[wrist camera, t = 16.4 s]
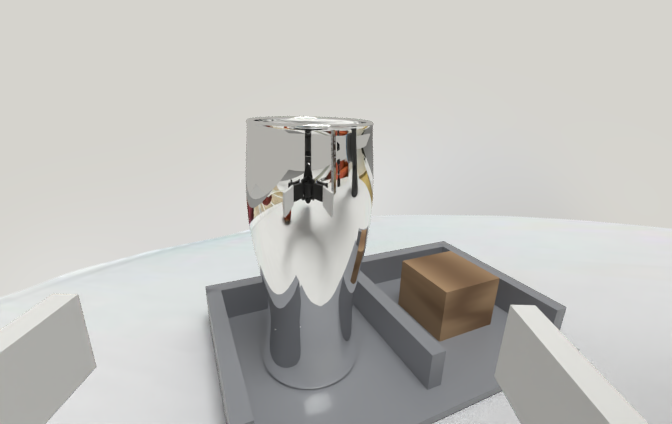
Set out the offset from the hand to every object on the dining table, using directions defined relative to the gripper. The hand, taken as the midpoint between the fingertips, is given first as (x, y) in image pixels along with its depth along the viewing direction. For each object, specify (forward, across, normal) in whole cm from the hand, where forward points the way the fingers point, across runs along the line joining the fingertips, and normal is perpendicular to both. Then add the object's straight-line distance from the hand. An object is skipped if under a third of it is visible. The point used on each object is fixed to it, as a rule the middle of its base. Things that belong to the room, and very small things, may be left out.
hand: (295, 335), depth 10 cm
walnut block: (+14, +10, -9) cm, 20 cm away
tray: (+12, +5, -10) cm, 16 cm away
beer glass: (+10, 0, -9) cm, 13 cm away
